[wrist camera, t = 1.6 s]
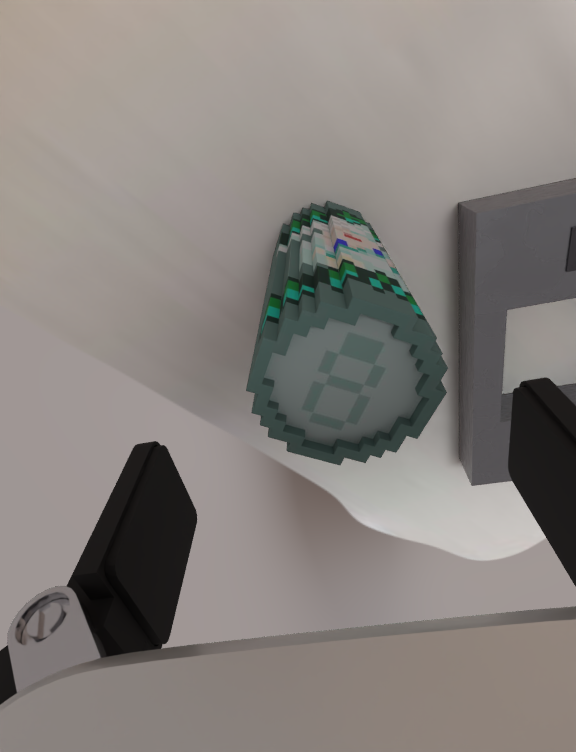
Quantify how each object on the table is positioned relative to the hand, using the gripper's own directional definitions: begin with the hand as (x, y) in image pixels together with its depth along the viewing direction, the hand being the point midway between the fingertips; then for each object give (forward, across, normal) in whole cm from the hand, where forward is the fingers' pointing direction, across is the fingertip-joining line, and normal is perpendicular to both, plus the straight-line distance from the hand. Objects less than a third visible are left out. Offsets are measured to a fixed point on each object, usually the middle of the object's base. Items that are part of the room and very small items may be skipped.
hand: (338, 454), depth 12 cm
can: (+18, -1, 0) cm, 18 cm away
